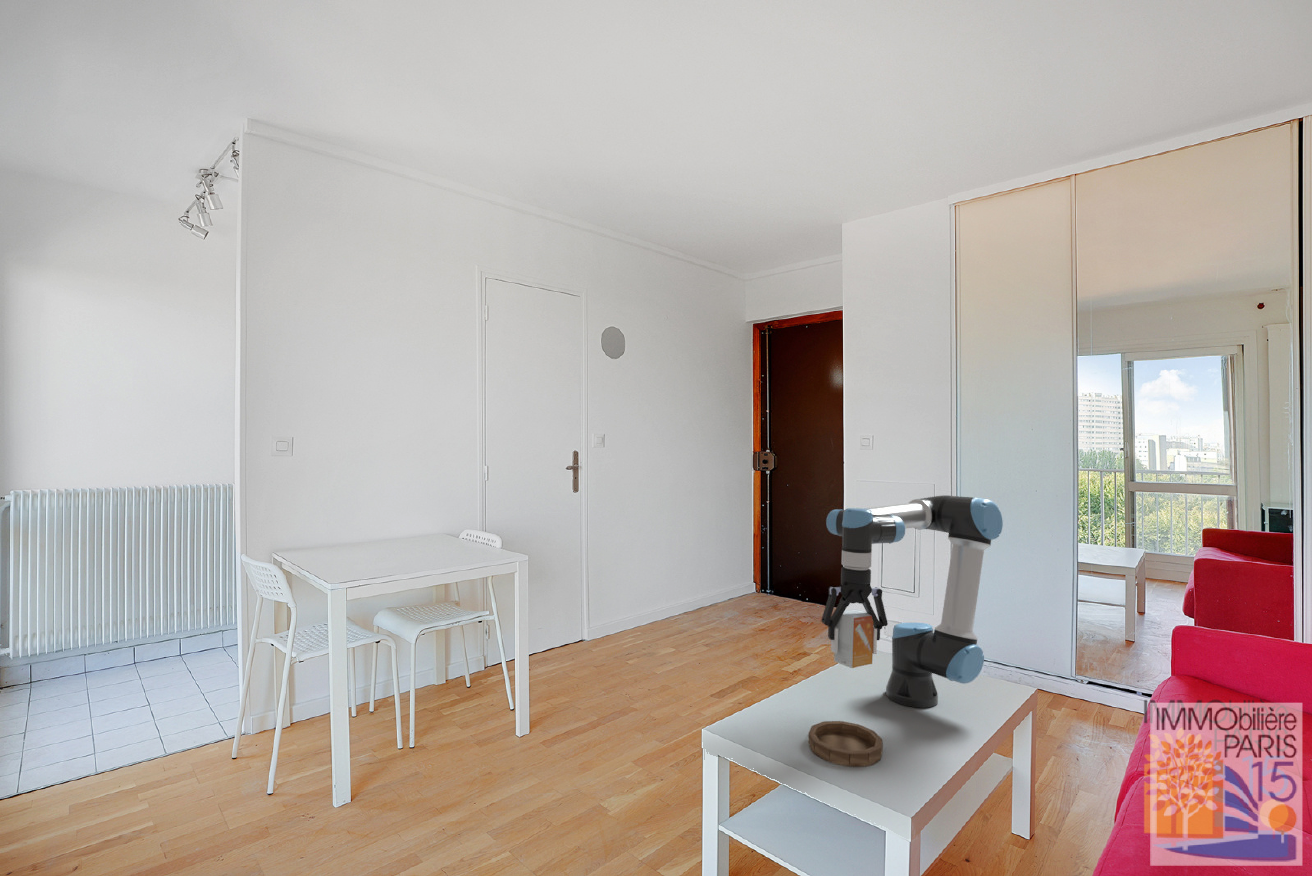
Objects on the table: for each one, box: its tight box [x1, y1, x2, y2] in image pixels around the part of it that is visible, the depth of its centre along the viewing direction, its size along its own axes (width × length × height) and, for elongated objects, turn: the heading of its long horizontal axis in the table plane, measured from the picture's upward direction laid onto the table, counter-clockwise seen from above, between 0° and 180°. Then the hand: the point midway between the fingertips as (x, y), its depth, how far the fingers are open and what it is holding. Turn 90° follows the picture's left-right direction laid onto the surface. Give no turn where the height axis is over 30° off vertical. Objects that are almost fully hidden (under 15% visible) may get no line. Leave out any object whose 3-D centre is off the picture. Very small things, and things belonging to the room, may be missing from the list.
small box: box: [833, 609, 874, 669], centre depth 166 cm, size 8×6×13 cm
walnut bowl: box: [807, 720, 884, 768], centre depth 164 cm, size 18×18×3 cm
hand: (853, 652), depth 166 cm, fingers closed on small box, 10 cm apart
